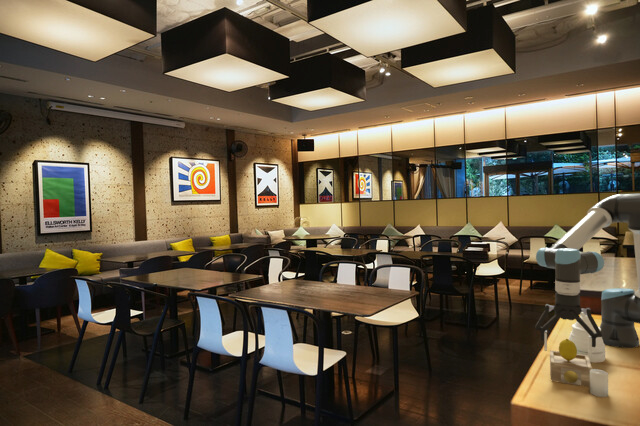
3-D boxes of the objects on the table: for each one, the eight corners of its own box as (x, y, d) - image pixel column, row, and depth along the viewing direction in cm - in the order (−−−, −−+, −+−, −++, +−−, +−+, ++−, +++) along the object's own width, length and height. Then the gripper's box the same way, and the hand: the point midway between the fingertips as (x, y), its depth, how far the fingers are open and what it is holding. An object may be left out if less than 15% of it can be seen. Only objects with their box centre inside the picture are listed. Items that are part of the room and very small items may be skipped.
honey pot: (591, 364, 161) (591, 317, 160) (559, 353, 173) (559, 309, 172) (612, 358, 166) (613, 313, 165) (581, 348, 178) (581, 305, 177)
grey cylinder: (601, 389, 141) (601, 368, 140) (611, 396, 136) (611, 375, 135) (586, 390, 140) (586, 369, 140) (596, 397, 135) (596, 375, 135)
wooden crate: (550, 368, 159) (550, 350, 158) (587, 374, 153) (588, 355, 153) (550, 382, 148) (550, 362, 147) (591, 388, 142) (591, 368, 142)
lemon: (571, 365, 147) (569, 342, 146) (556, 360, 152) (554, 338, 151) (581, 361, 149) (579, 339, 149) (565, 357, 154) (564, 335, 154)
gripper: (527, 291, 151) (527, 350, 152) (611, 298, 139) (611, 362, 140) (528, 287, 158) (528, 343, 159) (609, 293, 146) (608, 354, 147)
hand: (567, 352), depth 150 cm, fingers open, 13 cm apart
